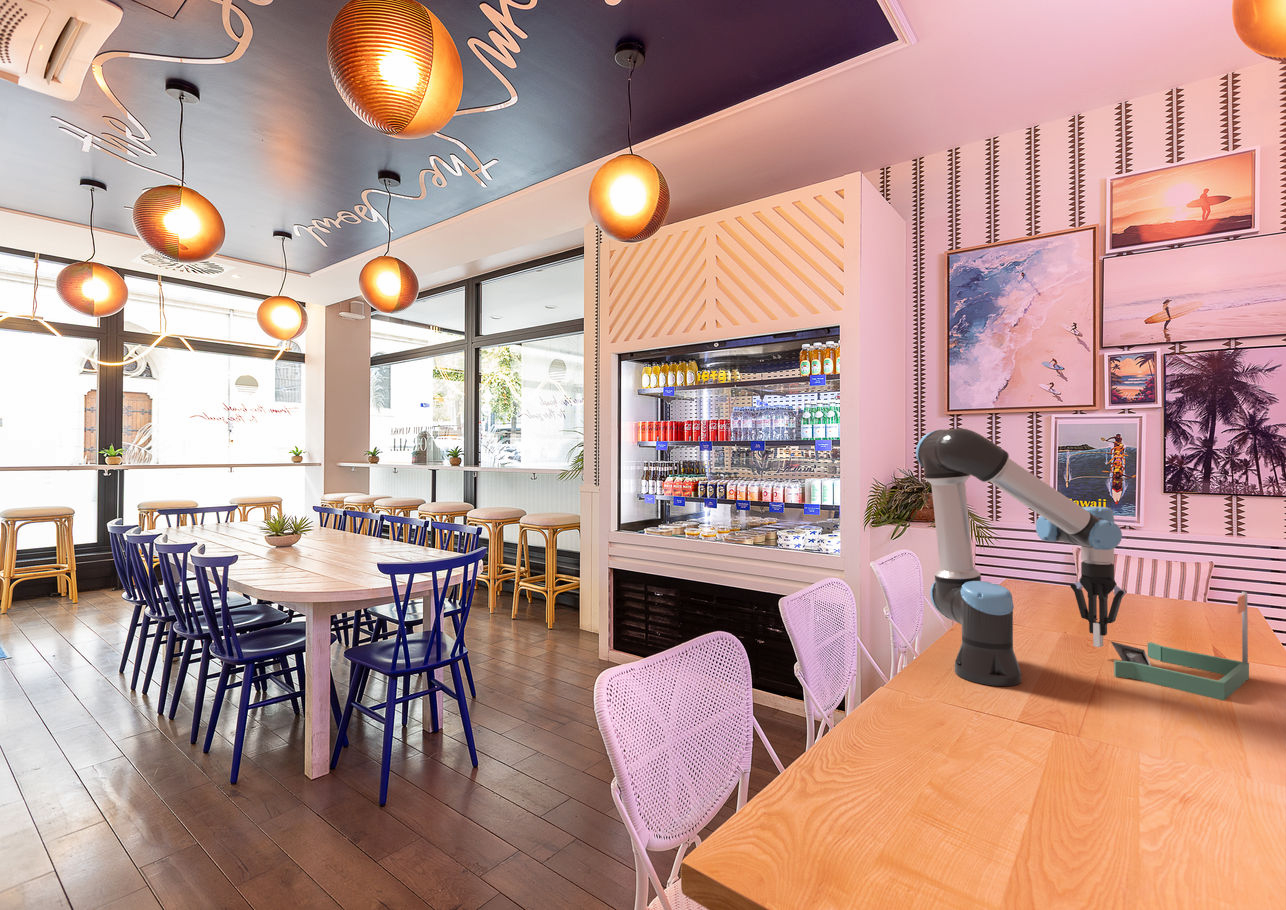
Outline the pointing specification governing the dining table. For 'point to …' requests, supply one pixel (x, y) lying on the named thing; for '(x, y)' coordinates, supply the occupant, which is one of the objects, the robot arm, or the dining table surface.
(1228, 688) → the green u-shaped frame
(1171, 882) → the dining table surface
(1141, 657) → the paper boat
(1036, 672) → the dining table surface
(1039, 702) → the dining table surface
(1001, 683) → the robot arm
